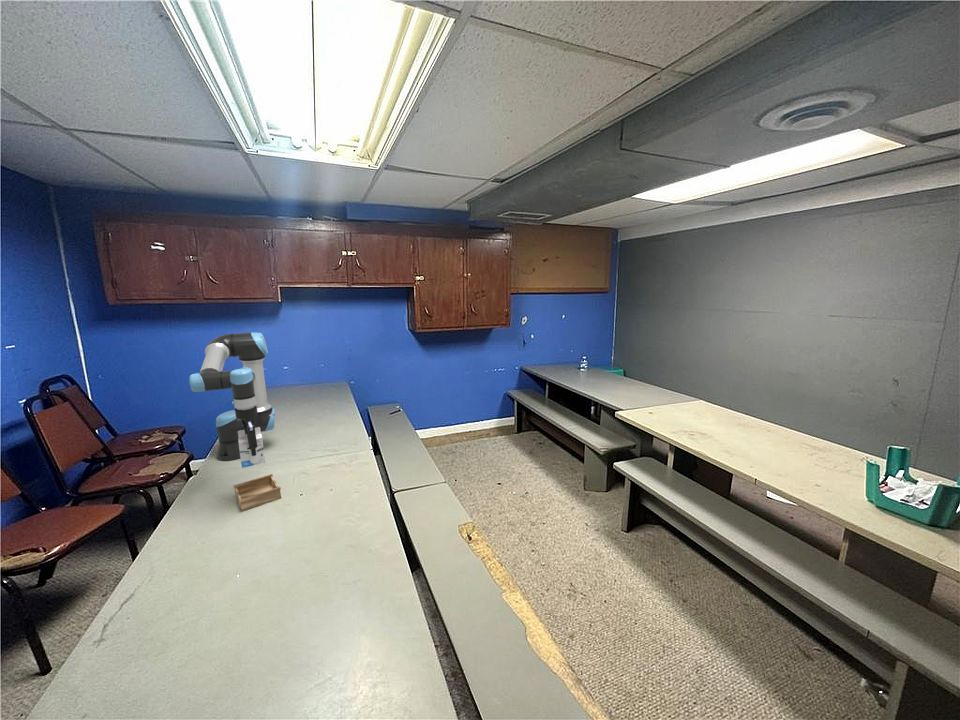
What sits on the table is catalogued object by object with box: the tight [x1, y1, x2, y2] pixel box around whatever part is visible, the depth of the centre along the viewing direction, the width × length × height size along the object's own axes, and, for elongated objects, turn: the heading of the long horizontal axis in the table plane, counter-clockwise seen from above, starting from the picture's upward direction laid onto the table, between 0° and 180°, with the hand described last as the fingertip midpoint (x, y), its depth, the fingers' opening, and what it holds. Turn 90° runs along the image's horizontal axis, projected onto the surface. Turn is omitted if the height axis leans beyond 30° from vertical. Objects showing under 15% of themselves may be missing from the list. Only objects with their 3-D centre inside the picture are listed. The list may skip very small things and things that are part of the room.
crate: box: [233, 473, 282, 513], centre depth 157 cm, size 15×15×5 cm
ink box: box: [238, 427, 266, 469], centre depth 152 cm, size 8×5×15 cm, turn 124°
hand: (253, 459), depth 154 cm, fingers closed on ink box, 5 cm apart
